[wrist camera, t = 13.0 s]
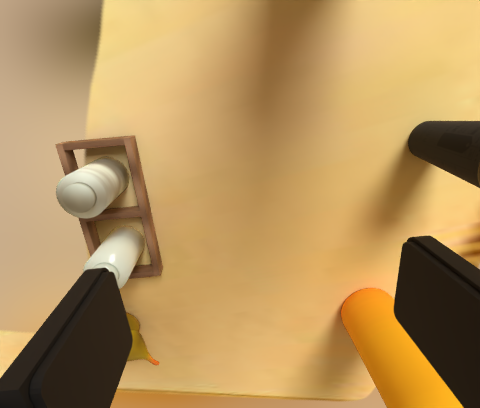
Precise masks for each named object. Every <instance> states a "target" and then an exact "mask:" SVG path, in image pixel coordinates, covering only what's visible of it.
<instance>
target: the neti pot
mask: <svg viewBox="0 0 480 408" xmlns="http://www.w3.org/2000/svg"><path fill="white" fill-rule="evenodd" d="M126 315H127V318H128V322H129V325H130V329H131V332H132V337H133V343H132V348H131V351H130V354H129V356H128V359H127V361H132V360H138V359H145V360H148V361H149V362H151V363H152V364H154V365H159V362H158V361H155V360H154V359H153V358H152V357H151V356H150V355H149V353H148V351H147V348H146V345H145V342H144V340H143V338H142V336H141V334H140V333H139V326H140V325H139V322H138V320H137V319H136V318H135V317H134V316H132V315H130V314H128V313H126Z"/></svg>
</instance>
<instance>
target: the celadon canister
mask: <svg viewBox="0 0 480 408" xmlns="http://www.w3.org/2000/svg"><path fill="white" fill-rule="evenodd" d="M144 246H145V240H144V237H143V235H142V234H141V233H140V232H139V231H138V230H137V229H135V228H133V227H130V226H119V227H117V228H115V229H113V230H112V231H111V233H110V234H109V235H108V236H107V238H106V239H105V240H104V241H103V242H102V244H101V245H100V246H99V247H98V249H97V250H96V251H95V252H94V254H93V255H92V256H91V257H90V258H89V260H88V261H87V262H86V264H85V266H84V270H83V272H84V271H85V270H87V269H95V268H107V269H108V270H109V272H111V271H112V272H114V274H115V277H116V280H117V284H118V287H119V289H120V288H122V287H123V286H124V285H125V284H126V282H127V280H128V278H129V276H130V274H131V272H132V270H133V268H134V266H135V264H136V263H137V261H138V259H139V257H140V255H141V253H142V251H143V249H144Z"/></svg>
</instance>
